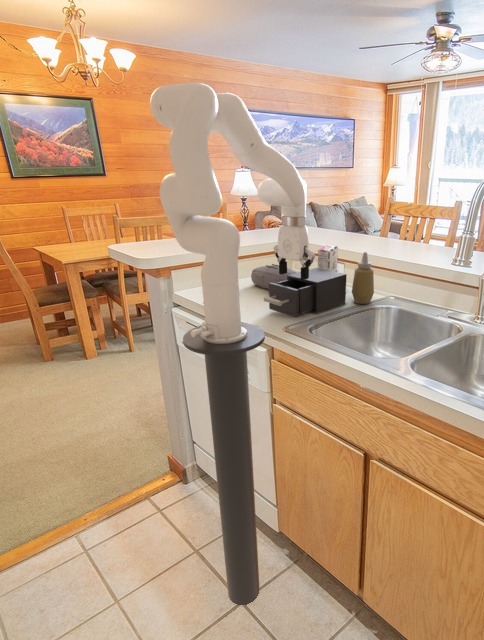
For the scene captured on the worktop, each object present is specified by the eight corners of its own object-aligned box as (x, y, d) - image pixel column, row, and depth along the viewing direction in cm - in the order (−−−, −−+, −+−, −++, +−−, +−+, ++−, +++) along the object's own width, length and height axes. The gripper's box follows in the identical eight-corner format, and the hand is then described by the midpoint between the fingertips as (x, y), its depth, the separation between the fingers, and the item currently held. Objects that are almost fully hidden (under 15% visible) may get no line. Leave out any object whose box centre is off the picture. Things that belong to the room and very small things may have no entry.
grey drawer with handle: (285, 321, 136) (285, 293, 133) (258, 312, 144) (257, 285, 140) (325, 307, 150) (326, 281, 146) (298, 299, 157) (298, 275, 154)
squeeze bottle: (376, 301, 161) (380, 251, 153) (367, 306, 155) (371, 255, 147) (357, 297, 165) (359, 249, 157) (347, 302, 158) (349, 252, 151)
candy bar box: (325, 285, 180) (326, 244, 173) (337, 286, 178) (338, 245, 171) (316, 292, 170) (317, 249, 163) (328, 293, 169) (330, 250, 162)
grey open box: (316, 314, 146) (317, 282, 142) (287, 305, 154) (286, 275, 150) (345, 303, 157) (346, 274, 153) (316, 296, 165) (316, 267, 161)
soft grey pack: (246, 285, 177) (282, 295, 165) (245, 264, 173) (281, 273, 162) (273, 278, 187) (308, 287, 176) (272, 259, 184) (308, 266, 172)
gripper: (265, 220, 138) (267, 273, 145) (306, 225, 128) (305, 283, 135) (282, 218, 143) (283, 270, 150) (322, 223, 133) (321, 279, 140)
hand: (293, 276), depth 142 cm, fingers open, 9 cm apart
